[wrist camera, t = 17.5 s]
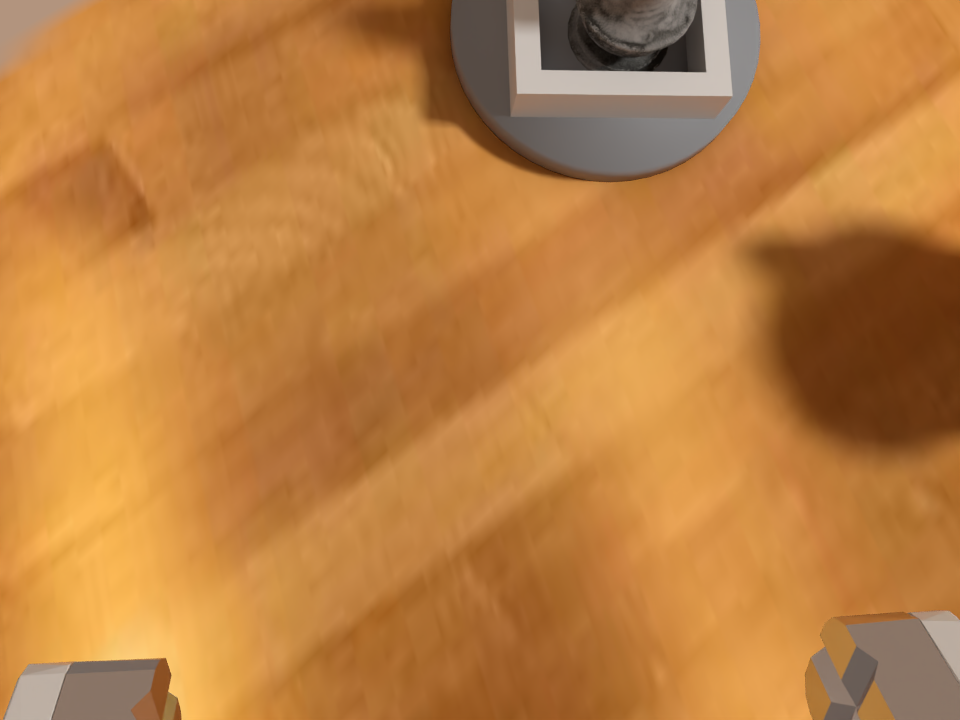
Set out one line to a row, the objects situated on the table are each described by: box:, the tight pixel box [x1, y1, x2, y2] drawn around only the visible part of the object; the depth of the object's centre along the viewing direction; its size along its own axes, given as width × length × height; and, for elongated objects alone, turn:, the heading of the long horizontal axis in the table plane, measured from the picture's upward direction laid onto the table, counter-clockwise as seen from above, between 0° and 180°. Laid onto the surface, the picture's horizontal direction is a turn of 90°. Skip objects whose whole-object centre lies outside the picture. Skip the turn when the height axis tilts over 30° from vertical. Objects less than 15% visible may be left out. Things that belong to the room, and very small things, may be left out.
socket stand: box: [450, 0, 760, 182], centre depth 45 cm, size 16×16×4 cm
